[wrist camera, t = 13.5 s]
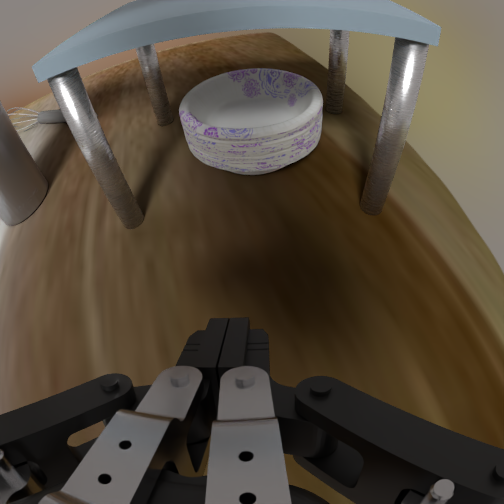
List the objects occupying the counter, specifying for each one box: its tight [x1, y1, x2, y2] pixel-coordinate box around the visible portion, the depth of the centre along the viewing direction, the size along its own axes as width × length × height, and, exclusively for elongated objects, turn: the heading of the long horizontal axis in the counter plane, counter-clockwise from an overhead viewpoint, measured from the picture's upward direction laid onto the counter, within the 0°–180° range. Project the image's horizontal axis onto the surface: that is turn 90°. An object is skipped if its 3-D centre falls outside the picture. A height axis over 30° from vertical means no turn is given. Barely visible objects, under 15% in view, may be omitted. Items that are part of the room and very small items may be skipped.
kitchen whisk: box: [7, 108, 98, 131], centre depth 46 cm, size 6×34×6 cm, turn 75°
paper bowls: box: [179, 68, 323, 175], centre depth 32 cm, size 15×15×8 cm
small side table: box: [32, 0, 441, 229], centre depth 27 cm, size 22×27×20 cm
